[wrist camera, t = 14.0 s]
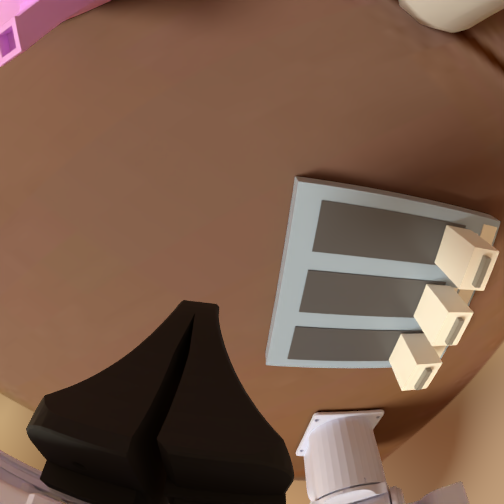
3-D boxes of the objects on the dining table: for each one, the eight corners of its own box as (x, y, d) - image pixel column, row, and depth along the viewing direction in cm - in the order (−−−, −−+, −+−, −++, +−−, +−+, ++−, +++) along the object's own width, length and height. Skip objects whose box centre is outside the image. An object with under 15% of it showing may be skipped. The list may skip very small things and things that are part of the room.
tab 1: (412, 358, 23) (428, 391, 19) (388, 359, 23) (403, 394, 19) (425, 333, 22) (444, 366, 18) (400, 333, 22) (419, 368, 18)
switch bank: (431, 353, 25) (437, 365, 23) (265, 351, 24) (266, 365, 23) (489, 214, 19) (501, 222, 17) (295, 175, 18) (298, 181, 17)
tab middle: (437, 316, 21) (459, 348, 17) (413, 315, 21) (434, 349, 17) (450, 285, 20) (476, 315, 16) (426, 283, 20) (451, 315, 16)
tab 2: (458, 265, 19) (486, 293, 15) (434, 262, 19) (461, 292, 15) (470, 229, 18) (502, 254, 14) (446, 224, 18) (478, 250, 14)
